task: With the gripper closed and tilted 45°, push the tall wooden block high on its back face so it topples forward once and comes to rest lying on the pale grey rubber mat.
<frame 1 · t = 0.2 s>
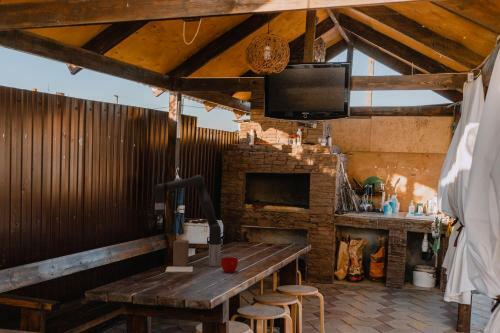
hand: (159, 229, 408), 29 cm above the table, tool pointing down, fingers open, 8 cm apart
wooden block: (180, 265, 407), on the table
ceramic cup: (229, 272, 384), on the table
pale grey mat: (179, 269, 391), on the table
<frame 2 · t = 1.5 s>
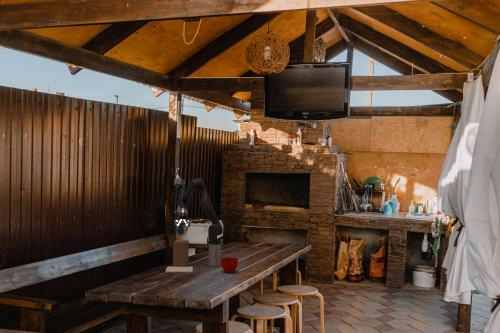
hand: (182, 230, 425), 26 cm above the table, tool tilted 45°, fingers open, 6 cm apart
nothing on the table moved.
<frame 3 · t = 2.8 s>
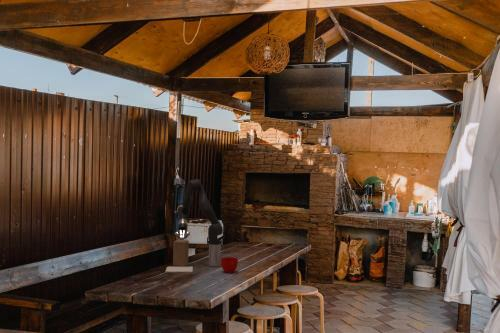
hand: (181, 242, 419), 17 cm above the table, tool tilted 45°, fingers closed
nothing on the table moved.
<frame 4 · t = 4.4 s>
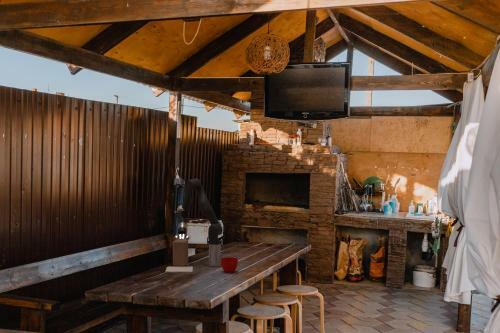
hand: (181, 246, 412), 15 cm above the table, tool tilted 45°, fingers closed
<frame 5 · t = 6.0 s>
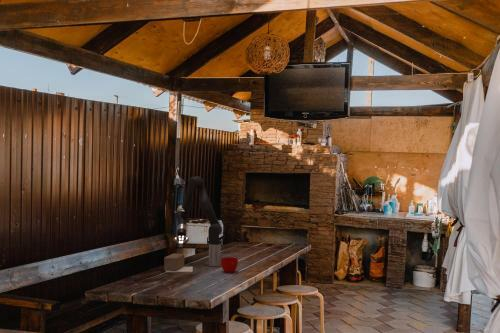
hand: (180, 248, 401), 15 cm above the table, tool tilted 45°, fingers closed
wooden block: (178, 259, 403), point 5 cm above the table, touching pale grey mat
everything else where it was.
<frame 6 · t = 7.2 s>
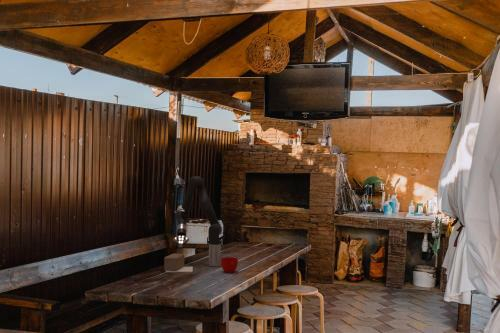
hand: (180, 248, 400), 15 cm above the table, tool tilted 45°, fingers closed
nothing on the table moved.
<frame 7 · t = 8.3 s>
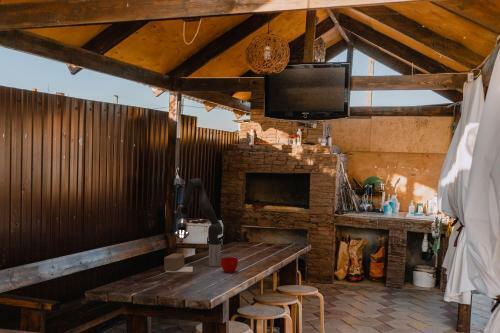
hand: (181, 242, 416), 18 cm above the table, tool tilted 45°, fingers closed
nothing on the table moved.
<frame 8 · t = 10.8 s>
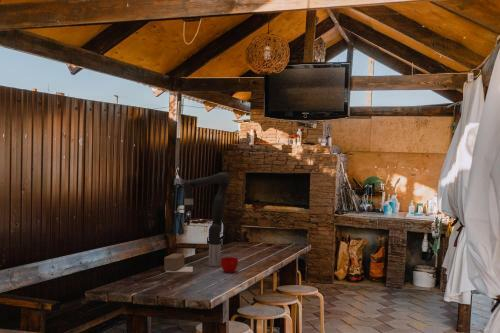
hand: (188, 224, 423), 31 cm above the table, tool pointing down, fingers closed
nothing on the table moved.
at the end: wooden block tilted 90°; wooden block inside the target area (10.0 cm from its centre), point 5.5 cm above the table; wooden block touching pale grey mat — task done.
